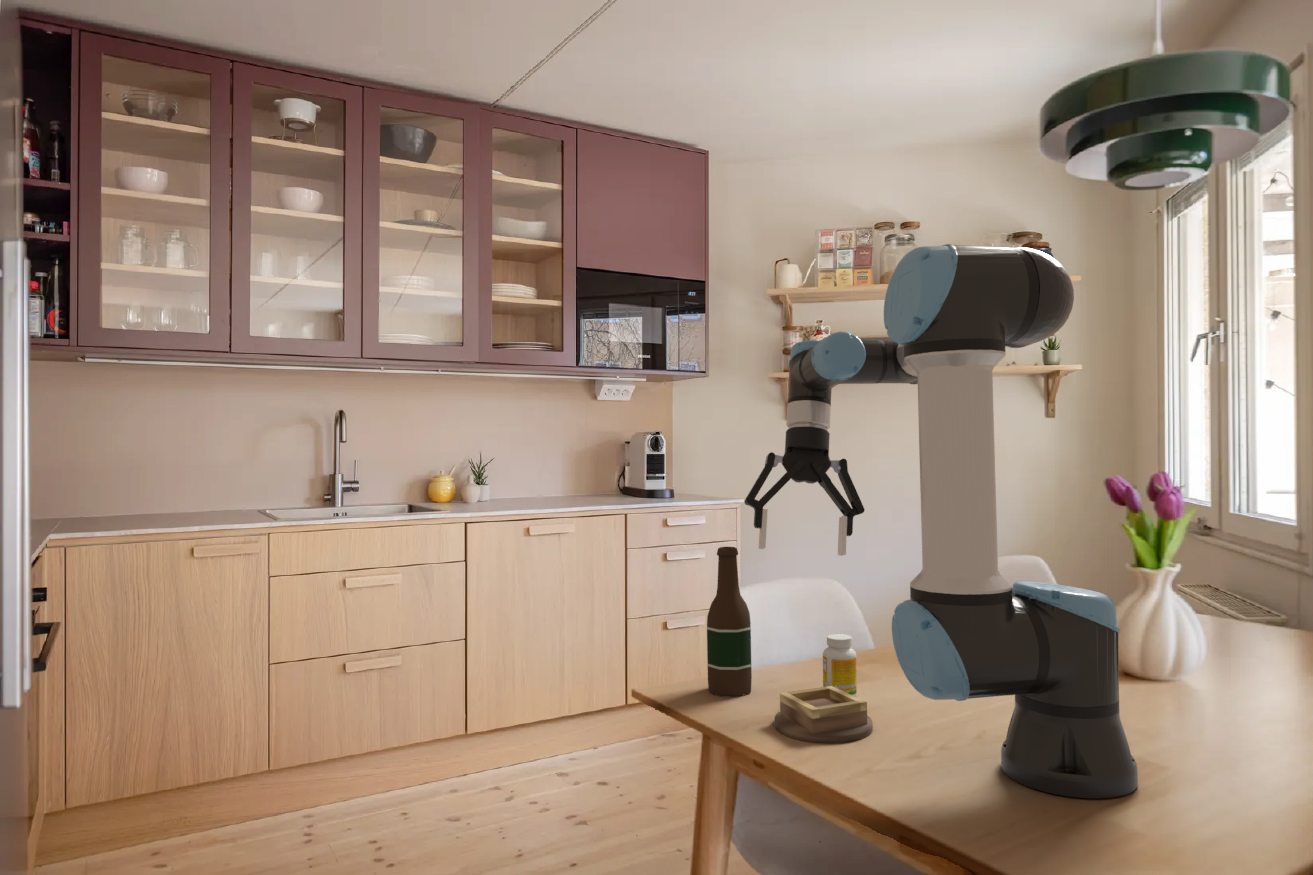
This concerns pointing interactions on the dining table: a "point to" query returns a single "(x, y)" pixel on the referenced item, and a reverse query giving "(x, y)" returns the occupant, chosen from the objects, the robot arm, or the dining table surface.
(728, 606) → the beer bottle
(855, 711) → the square wooden tray
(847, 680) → the supplement bottle
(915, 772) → the dining table surface
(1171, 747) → the dining table surface
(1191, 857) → the dining table surface
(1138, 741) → the dining table surface
